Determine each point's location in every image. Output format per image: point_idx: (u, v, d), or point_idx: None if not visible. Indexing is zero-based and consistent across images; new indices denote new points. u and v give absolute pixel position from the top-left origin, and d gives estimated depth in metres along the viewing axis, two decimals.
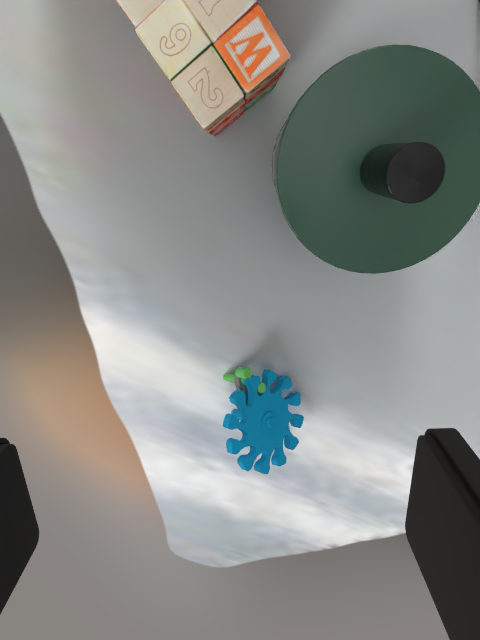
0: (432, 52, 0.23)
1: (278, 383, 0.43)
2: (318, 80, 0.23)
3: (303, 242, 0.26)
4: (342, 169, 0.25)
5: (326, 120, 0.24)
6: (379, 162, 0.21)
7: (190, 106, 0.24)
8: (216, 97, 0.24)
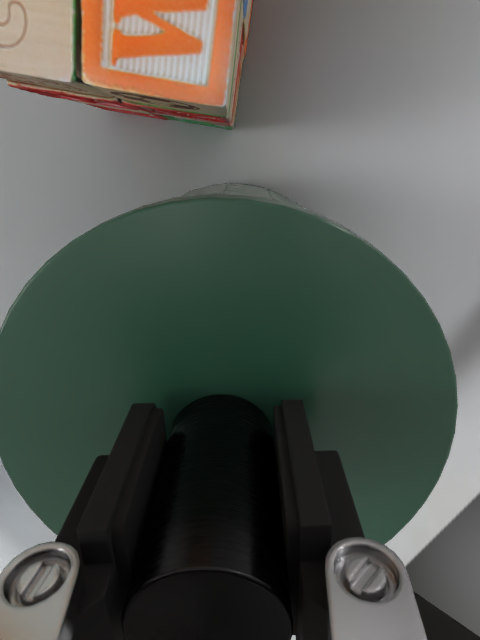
0: (444, 342, 0.10)
1: None
2: (233, 203, 0.09)
3: None
4: (154, 382, 0.11)
5: (191, 283, 0.10)
6: (178, 500, 0.08)
7: None
8: (5, 23, 0.08)
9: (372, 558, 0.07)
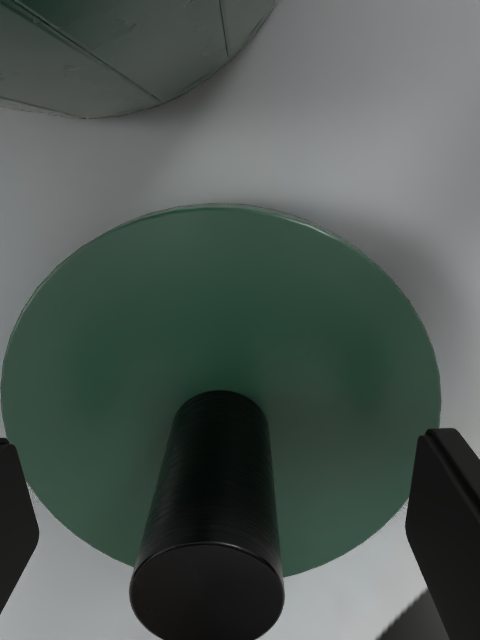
0: (427, 341, 0.11)
1: None
2: (230, 211, 0.10)
3: (6, 426, 0.12)
4: (157, 378, 0.12)
5: (191, 286, 0.11)
6: (180, 484, 0.08)
7: None
8: None
9: None
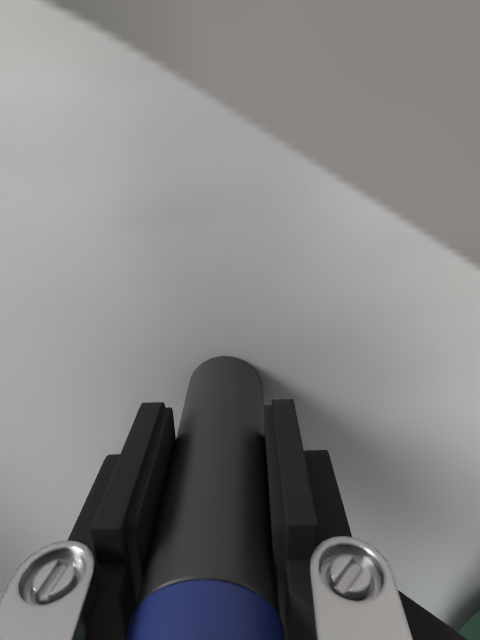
0: None
1: None
2: None
3: None
4: None
5: None
6: None
7: None
8: None
9: (357, 557, 0.07)
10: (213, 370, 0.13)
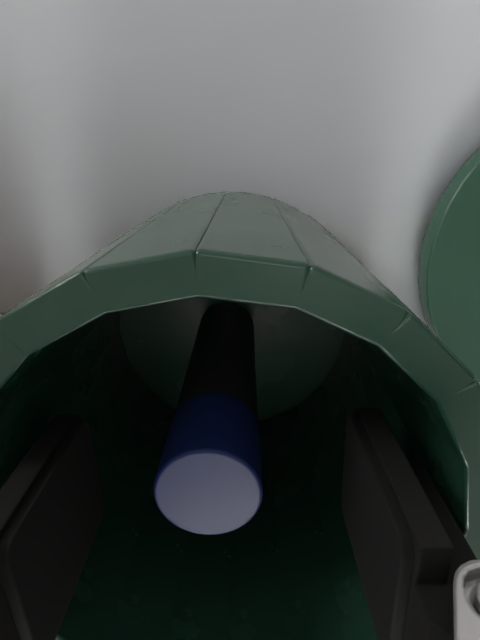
0: None
1: None
2: (432, 253, 0.17)
3: None
4: None
5: (474, 277, 0.17)
6: None
7: None
8: None
9: None
10: (217, 310, 0.18)
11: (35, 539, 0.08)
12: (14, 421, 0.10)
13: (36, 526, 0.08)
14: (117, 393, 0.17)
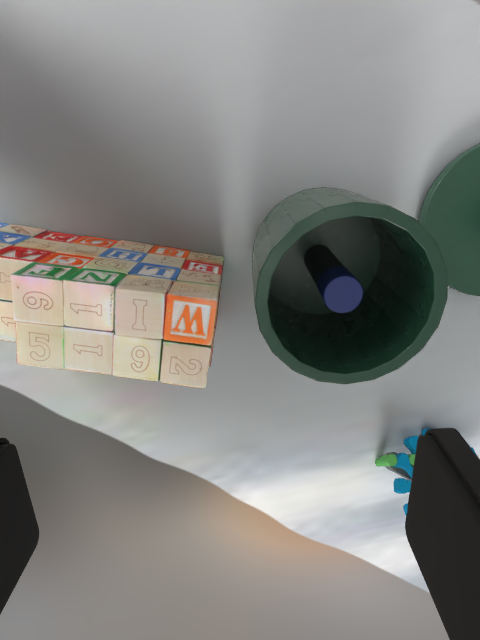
0: None
1: None
2: (425, 217, 0.34)
3: None
4: (476, 242, 0.34)
5: (446, 229, 0.34)
6: None
7: (184, 384, 0.27)
8: (195, 365, 0.27)
9: None
10: (316, 247, 0.35)
11: None
12: None
13: None
14: None
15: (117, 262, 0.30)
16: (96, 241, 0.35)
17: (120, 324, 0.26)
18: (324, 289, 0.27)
